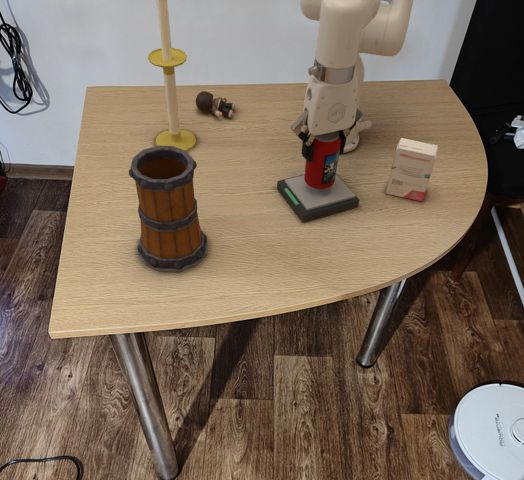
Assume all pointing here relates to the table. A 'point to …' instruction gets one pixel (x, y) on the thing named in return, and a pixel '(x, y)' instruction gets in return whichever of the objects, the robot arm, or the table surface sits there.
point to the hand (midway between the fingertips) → (322, 154)
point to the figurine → (214, 104)
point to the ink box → (411, 169)
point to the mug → (168, 209)
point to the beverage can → (323, 161)
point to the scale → (316, 198)
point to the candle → (170, 83)
